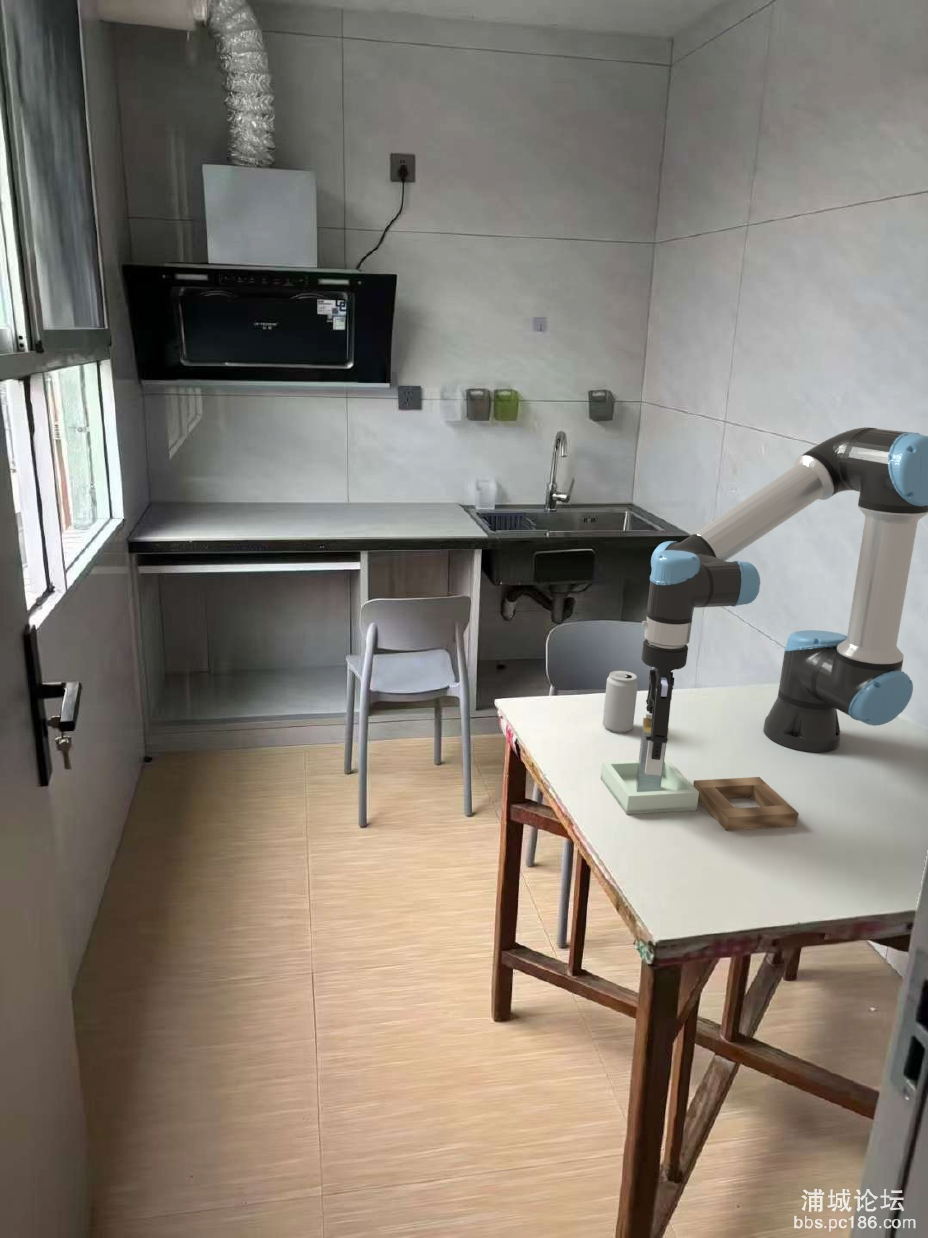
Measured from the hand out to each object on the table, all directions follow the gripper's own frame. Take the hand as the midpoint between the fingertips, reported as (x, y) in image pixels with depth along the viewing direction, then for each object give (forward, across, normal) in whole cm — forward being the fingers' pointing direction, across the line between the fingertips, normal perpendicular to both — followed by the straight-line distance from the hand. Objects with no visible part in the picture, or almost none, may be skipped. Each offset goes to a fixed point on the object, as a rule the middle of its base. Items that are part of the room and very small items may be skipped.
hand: (651, 759), depth 154 cm
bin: (+7, 0, 0) cm, 7 cm away
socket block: (+7, +1, +16) cm, 18 cm away
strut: (+6, 0, 0) cm, 6 cm away
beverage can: (+7, -28, -5) cm, 29 cm away
